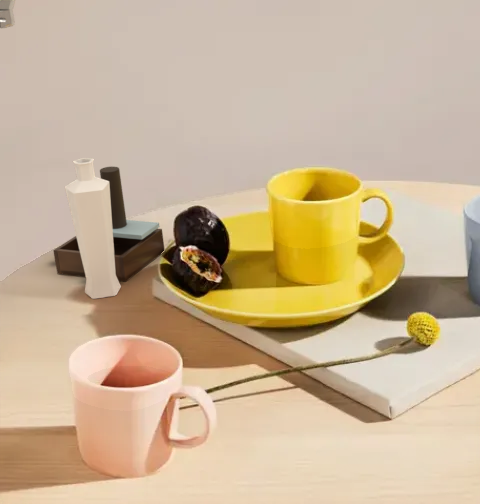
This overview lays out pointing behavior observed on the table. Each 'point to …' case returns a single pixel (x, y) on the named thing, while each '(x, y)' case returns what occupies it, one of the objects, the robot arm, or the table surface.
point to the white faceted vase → (93, 229)
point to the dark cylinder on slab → (123, 210)
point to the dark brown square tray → (125, 253)
